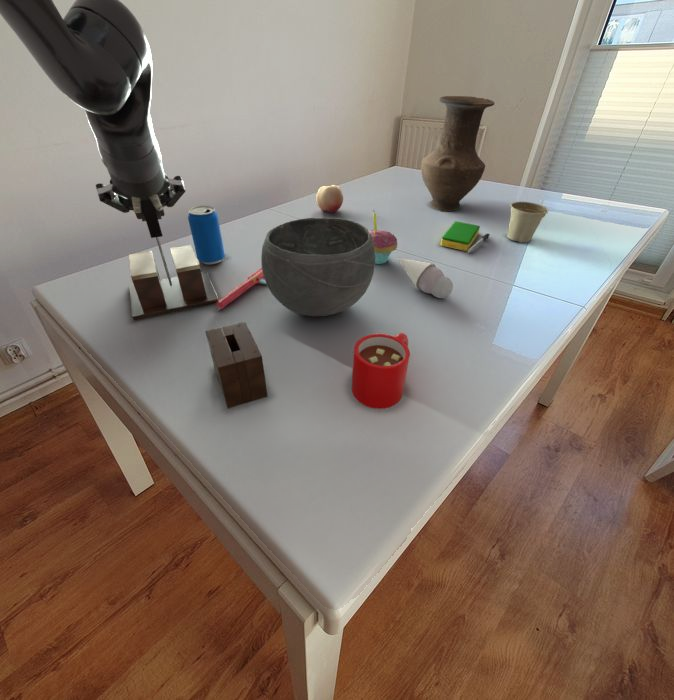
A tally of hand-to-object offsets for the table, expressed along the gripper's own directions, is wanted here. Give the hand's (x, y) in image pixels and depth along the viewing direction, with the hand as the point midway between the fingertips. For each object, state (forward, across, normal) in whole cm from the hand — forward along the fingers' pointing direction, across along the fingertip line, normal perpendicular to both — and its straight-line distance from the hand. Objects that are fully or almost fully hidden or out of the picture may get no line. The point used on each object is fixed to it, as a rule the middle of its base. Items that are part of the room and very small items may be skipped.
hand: (150, 215), depth 70 cm
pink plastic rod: (+9, -17, +14) cm, 24 cm away
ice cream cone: (-2, -49, +26) cm, 55 cm away
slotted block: (+10, 0, +13) cm, 16 cm away
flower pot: (+6, -91, +17) cm, 93 cm away
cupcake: (+9, -48, +14) cm, 51 cm away
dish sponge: (+10, -75, +13) cm, 77 cm away
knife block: (-12, -6, +35) cm, 37 cm away
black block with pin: (+8, 0, +11) cm, 13 cm away
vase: (+28, -89, -4) cm, 93 cm away
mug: (-18, -27, +41) cm, 52 cm away
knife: (+6, -76, +18) cm, 78 cm away
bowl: (-1, -26, +24) cm, 35 cm away
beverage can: (+20, -10, +3) cm, 23 cm away
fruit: (+34, -51, -11) cm, 63 cm away
